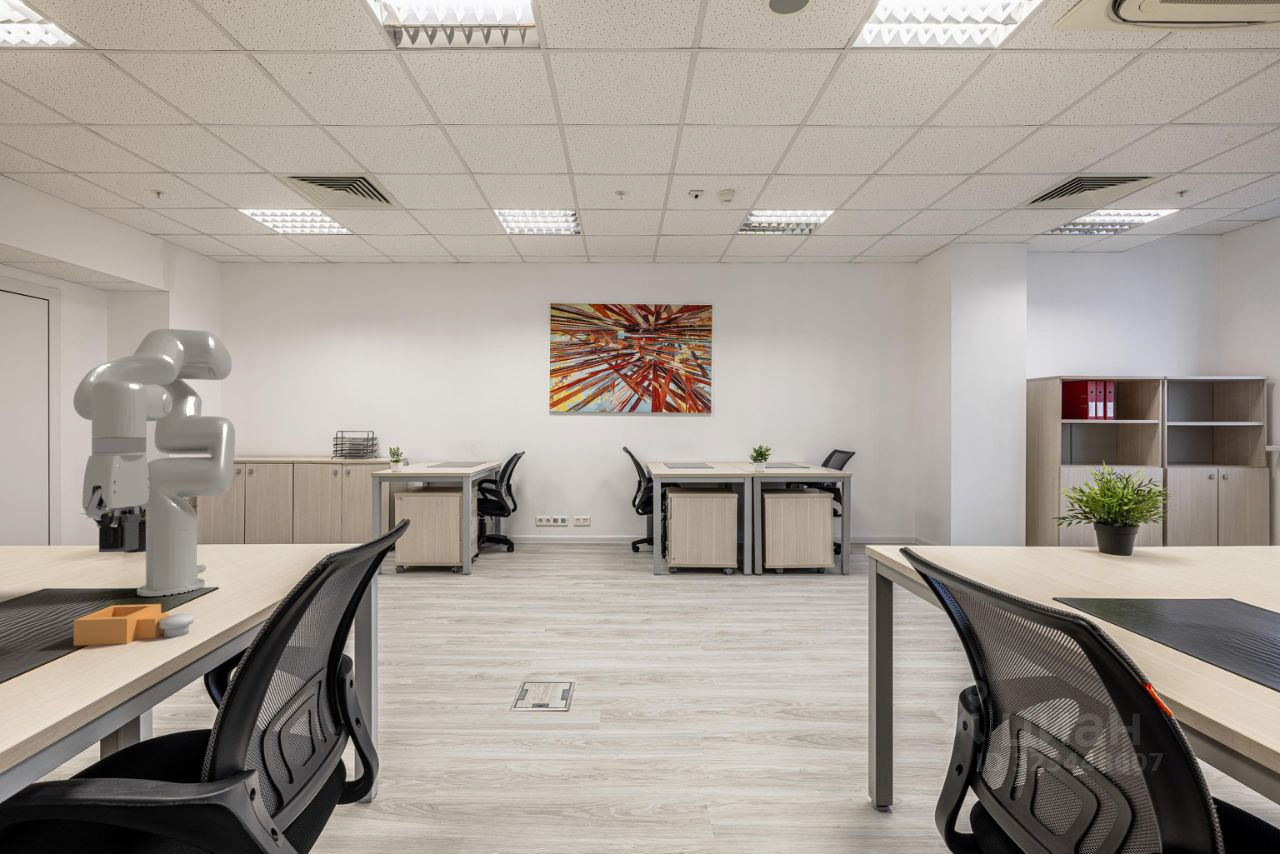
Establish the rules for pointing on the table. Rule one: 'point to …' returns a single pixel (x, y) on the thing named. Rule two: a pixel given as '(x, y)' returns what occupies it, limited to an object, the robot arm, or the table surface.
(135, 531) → the grey rectangular block
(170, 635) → the orange handled frame
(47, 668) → the table surface
